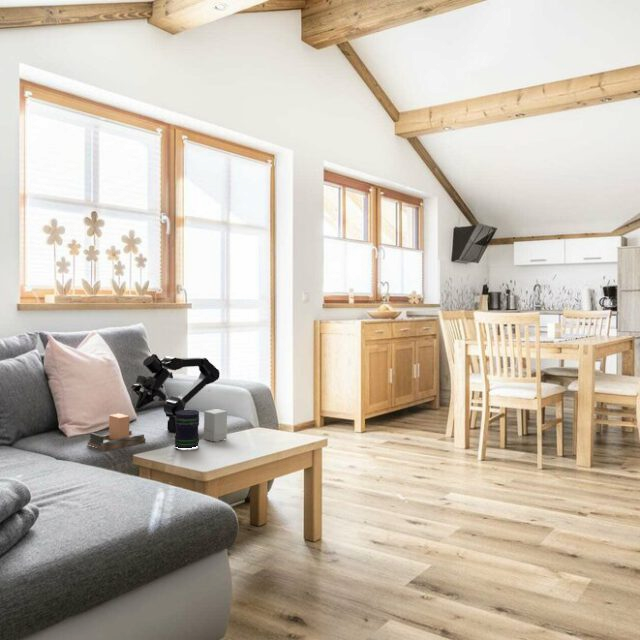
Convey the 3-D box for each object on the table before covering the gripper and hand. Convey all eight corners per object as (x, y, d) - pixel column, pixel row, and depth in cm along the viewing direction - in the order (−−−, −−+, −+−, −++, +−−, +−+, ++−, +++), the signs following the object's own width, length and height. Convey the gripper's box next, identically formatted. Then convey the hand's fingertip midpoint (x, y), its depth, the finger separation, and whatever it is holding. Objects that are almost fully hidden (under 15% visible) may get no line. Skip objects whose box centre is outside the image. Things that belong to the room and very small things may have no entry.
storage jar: (169, 448, 268) (170, 413, 267) (183, 443, 277) (183, 408, 276) (190, 451, 265) (191, 415, 263) (203, 446, 274) (204, 411, 272)
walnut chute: (128, 436, 285) (128, 424, 284) (145, 441, 277) (145, 429, 277) (87, 445, 269) (87, 432, 269) (104, 451, 262) (104, 437, 261)
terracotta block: (119, 436, 278) (119, 413, 277) (129, 439, 273) (129, 416, 273) (109, 438, 274) (109, 415, 273) (118, 441, 270) (119, 418, 269)
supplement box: (227, 439, 285) (227, 411, 284) (213, 442, 280) (214, 413, 279) (216, 436, 290) (217, 408, 289) (203, 439, 285) (203, 410, 284)
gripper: (134, 365, 288) (112, 393, 280) (160, 371, 277) (138, 400, 269) (149, 381, 295) (128, 409, 287) (175, 387, 283) (154, 416, 276)
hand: (136, 408), depth 279 cm, fingers closed
